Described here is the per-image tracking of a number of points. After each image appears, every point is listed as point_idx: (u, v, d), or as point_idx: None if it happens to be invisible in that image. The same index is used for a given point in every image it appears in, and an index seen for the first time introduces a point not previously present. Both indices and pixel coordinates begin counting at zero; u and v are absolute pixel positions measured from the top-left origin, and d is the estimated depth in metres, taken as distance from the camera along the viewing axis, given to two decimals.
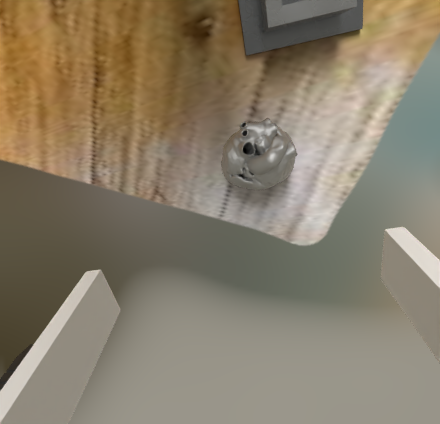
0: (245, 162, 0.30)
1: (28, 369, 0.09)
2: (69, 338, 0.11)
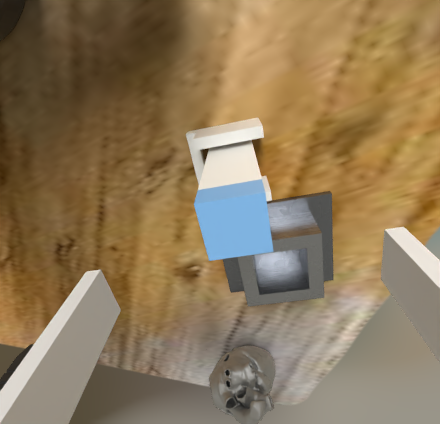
0: None
1: (28, 369, 0.09)
2: (69, 338, 0.11)
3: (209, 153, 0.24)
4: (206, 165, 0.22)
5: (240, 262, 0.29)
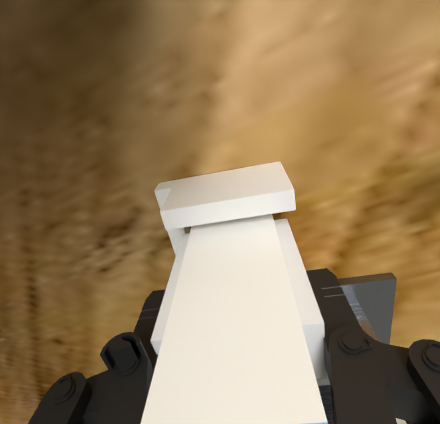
0: None
1: None
2: None
3: (192, 235, 0.13)
4: (181, 283, 0.10)
5: None
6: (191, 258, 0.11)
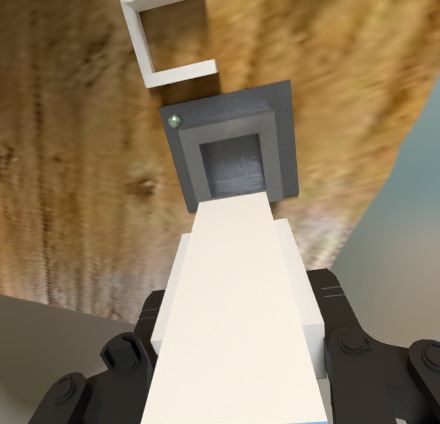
0: None
1: None
2: None
3: (193, 236, 0.13)
4: (181, 284, 0.10)
5: (186, 154, 0.25)
6: (192, 259, 0.12)
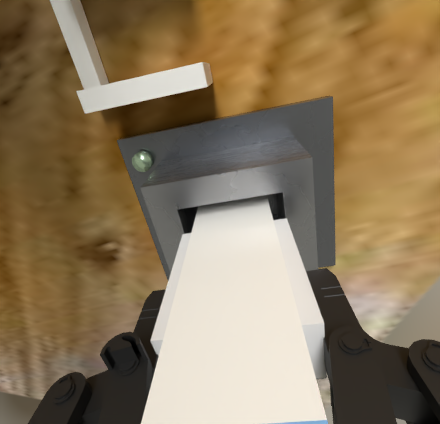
0: None
1: None
2: None
3: (193, 236, 0.13)
4: (182, 283, 0.10)
5: (156, 224, 0.15)
6: (192, 259, 0.12)
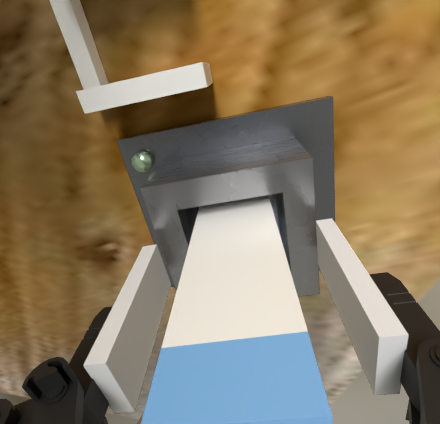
0: None
1: (116, 323, 0.10)
2: (141, 301, 0.12)
3: (199, 216, 0.15)
4: (190, 251, 0.12)
5: (156, 224, 0.15)
6: (198, 233, 0.13)
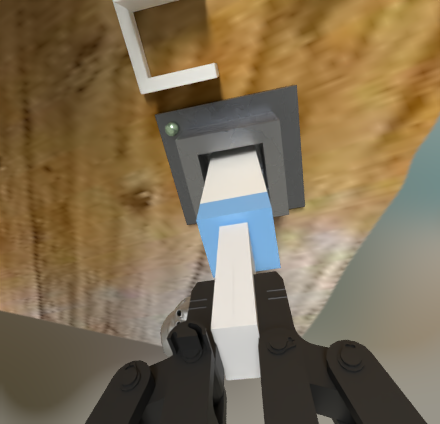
0: None
1: (226, 292, 0.10)
2: None
3: (211, 162, 0.24)
4: (208, 175, 0.21)
5: (184, 165, 0.23)
6: (212, 168, 0.22)
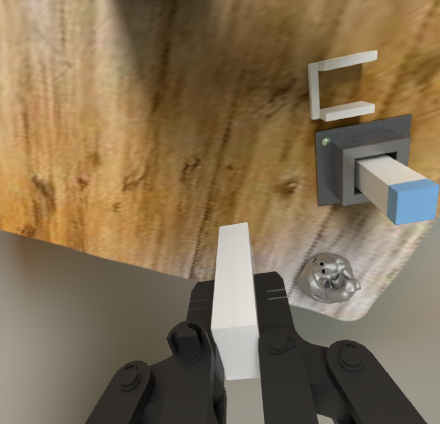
0: (323, 290, 0.43)
1: (226, 292, 0.10)
2: None
3: (360, 162, 0.38)
4: (371, 170, 0.35)
5: (344, 164, 0.38)
6: (367, 167, 0.36)
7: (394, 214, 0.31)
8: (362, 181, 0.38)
